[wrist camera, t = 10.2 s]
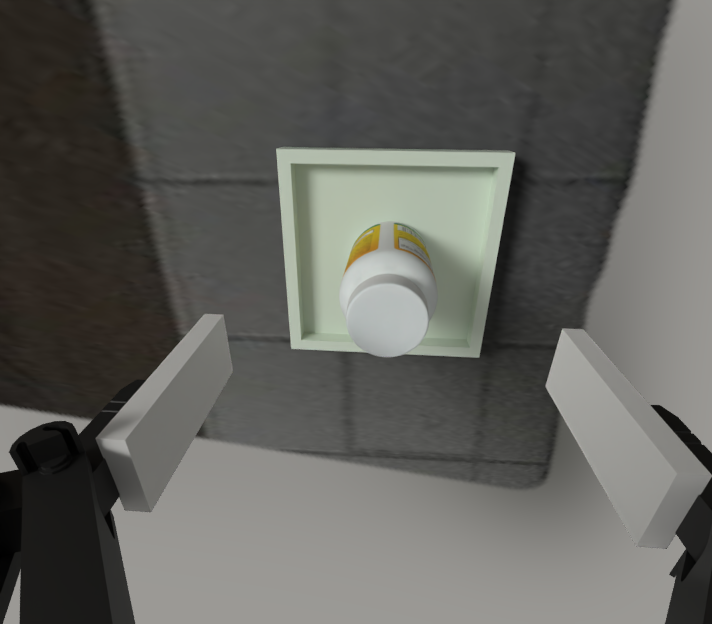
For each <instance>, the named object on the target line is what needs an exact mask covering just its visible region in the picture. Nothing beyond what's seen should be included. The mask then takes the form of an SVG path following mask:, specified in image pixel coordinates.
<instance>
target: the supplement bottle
mask: <svg viewBox="0 0 712 624" xmlns="http://www.w3.org/2000/svg"><path fill="white" fill-rule="evenodd" d="M437 300H438V289H437V284H436V279H435V276H434V272H433V268H432V265H431V261H430V257H429V253H428V250H427V247H426V244H425V242H424V240H423V239H422V237H421V236H420V235H419V234H418V233H417V232H416V231H415V230H414V229H413V228H411V227H410V226H408V225H406V224H403V223H400V222H393V221H386V222H380V223H377V224H374V225H372V226H370V227H369V228H367V229H366V230H365V231H363V232H362V233H361V234H360V235H359V237H358V238H357V239H356V241H355V243H354V244H353V247H352V249H351V252H350V256H349V259H348V262H347V266H346V268H345V272H344V275H343V278H342V281H341V285H340V290H339V301H340V306H341V310H342V312H343V315H344V317H345V318H346V326H347V330H348V333H349V335H350V337H351V338H352V340H353V341H354V342H355V344H356V345H357V346H358V347H360V348H361V349H362V350H364V351H366V352H367V353H370V354H372V355H375V356H380V357H396V356H400V355H403V354H406V353H408V352H410V351H411V350H413V349H414V348H416V347H417V346H418V345H419V344H420V343H421V341H422V340H423V339H424V337H425V335H426V333H427V330H428V326H429V321H430V320H431V318H432V316H433V314H434V312H435V309H436V306H437Z"/></svg>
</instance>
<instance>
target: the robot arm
mask: <svg viewBox="0 0 712 624" xmlns="http://www.w3.org/2000/svg"><path fill="white" fill-rule="evenodd" d="M232 372H233V368H232V362H231V357H230V351H229V345H228V339H227V333H226V327H225V321H224V315H217V314H204V315H203V316H202V318H201V319H200V320H199V321H198V322H197V323H196V324H195V326H194V327H193V328H192V329H191V330H190V331H189V332H188V334H187V335H186V336H185V337H184V338H183V339H182V340H181V342H180V343H179V344H178V345H177V346H176V347H175V348H174V349H173V351H172V352H171V353H170V354H169V355H168V356H167V357H166V359H165V360H164V361H163V362H162V363H161V364H160V365H159V367H158V368H157V369H156V370H155V371H154V372H153V373H152V375H151V376H150V377H149V378H148V379H147V380H135V381H134V382H132V383H131V384H129V385H128V386H126V387H124V388H123V389H121V390H120V391H119V392H118V394H117V395H116V396H115V397H114V398H113V399H112V400H111V403H108V404H107V405H106V406H105V407H104V408H103V410H102V412H100V413H99V414H98V415H97V416H96V417H95V418H94V419H93V420H92V421H91V422H90V424H89V425H88V426H87V427H86V428H85V429H84V430H83V431H82V432H81V433H80V434H79V435H78V434H77V432H76V429H75V427H74V426H73V424H72V423H69V422H66V421H54V422H51V423H46V424H42V425H40V426H38V427H36V428H33V429H31V430H29V431H28V432H26V433H25V434H23V435H22V436H20V437H19V438H18V439H17V440H16V441H15V442H14V444H13V445H12V447H11V449H10V451H9V453H10V455H11V457H12V458H13V460H14V462H15V464H16V465H17V467H18V469H19V470H14V471H8V472H3V473H0V624H3V621H4V618H5V615H6V612H7V609H8V606H9V603H10V600H11V596H12V594H13V591H14V587H15V584H16V581H17V578H18V575H19V572H20V569H21V586H20V589H21V590H20V624H135V620H134V615H133V610H132V606H131V601H130V596H129V591H128V586H127V581H126V577H125V571H124V567H123V561H122V556H121V551H120V546H119V542H118V536H117V531H116V526H115V521H114V517H113V514H112V512H111V508H112V506H113V505H114V503H115V502H116V500H117V499H118V497H120V500H121V502H122V505H123V507H124V510H129V511H141V512H151V511H152V510H153V508H154V506H155V504H156V503H157V501H158V499H159V498H160V496H161V494H162V492H163V491H164V489H165V487H166V485H167V484H168V482H169V480H170V479H171V477H172V475H173V473H174V472H175V470H176V468H177V467H178V465H179V463H180V462H181V460H182V458H183V456H184V455H185V453H186V451H187V449H188V448H189V446H190V444H191V442H192V441H193V439H194V437H195V436H196V434H197V432H198V431H199V429H200V427H201V425H202V424H203V422H204V420H205V419H206V417H207V415H208V413H209V412H210V410H211V408H212V406H213V405H214V403H215V401H216V400H217V398H218V396H219V394H220V393H221V391H222V389H223V388H224V386H225V384H226V382H227V381H228V379H229V377H230V375H231V374H232ZM545 387H546V388H547V390H548V392H549V394H550V396H551V397H552V399H553V401H554V403H555V404H556V406H557V408H558V410H559V411H560V413H561V415H562V417H563V418H564V420H565V422H566V424H567V425H568V427H569V429H570V431H571V432H572V434H573V436H574V438H575V439H576V441H577V443H578V445H579V447H580V448H581V450H582V452H583V454H584V455H585V457H586V459H587V461H588V462H589V464H590V466H591V468H592V470H593V471H594V473H595V475H596V477H597V478H598V480H599V482H600V484H601V485H602V487H603V489H604V491H605V492H606V494H607V496H608V498H609V499H610V501H611V503H612V505H613V506H614V508H615V510H616V512H617V514H618V515H619V517H620V519H621V521H622V522H623V524H624V526H625V528H626V529H627V531H628V533H629V535H630V536H631V538H632V540H633V542H634V544H635V545H636V547H648V548H662V549H667V548H668V546H669V545H670V543H671V541H672V540H673V538H674V537H675V535H676V534H677V536H678V537H679V539H680V540H681V542H682V543H683V545H684V546H685V547H686V550H685V551H684V553H683V555H682V556H681V557H680V559H679V560H678V562H677V563H676V565H675V566H674V568H673V569H672V571H671V572H670V575H671V576H673V577H675V576H676V579H675V584H674V588H673V592H672V596H671V601H670V605H669V609H668V614H667V618H666V622H665V624H712V453H711V452H710V451H709V450H708V449H707V448H706V447H705V446H704V445H702V444H701V441H700V440H699V439H698V438H697V437H696V436H695V435H694V434H691V431H690V430H689V429H688V427H687V426H686V425H684V423H683V422H682V421H681V420H680V419H679V418H678V417H677V416H675V415H674V414H672V413H671V412H669V411H667V410H666V409H665V408H663V407H662V406H660V405H650V404H649V403H648V402H647V401H646V400H645V399H644V398H643V397H642V396H641V394H640V393H639V392H638V391H637V390H636V389H635V387H633V385H632V384H631V383H630V382H629V381H628V380H627V378H626V377H625V376H624V375H623V374H622V373H621V372H620V371H619V369H618V368H617V367H616V366H615V365H614V364H613V363H612V362H611V360H610V359H609V358H608V357H607V356H606V355H605V353H604V352H603V351H602V350H601V349H600V348H599V347H598V346H597V345H596V343H595V342H594V341H593V340H592V339H591V338H590V336H589V335H588V334H587V333H586V332H585V331H584V330H583V329H562V332H561V335H560V338H559V342H558V345H557V349H556V352H555V355H554V359H553V362H552V366H551V369H550V373H549V376H548V379H547V383H546V386H545Z"/></svg>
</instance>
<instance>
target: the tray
mask: <svg viewBox="0 0 712 624" xmlns="http://www.w3.org/2000/svg"><path fill="white" fill-rule="evenodd" d="M276 151H277V164H278V178H279V191H280V204H281V218H282V231H283V245H284V258H285V271H286V285H287V298H288V312H289V325H290V338H291V349H307V350H328V351H349V352H366V351H364V350H362V349H361V348H360V347H358V346H357V345H356V344H355V342H354V341H353V340H352V338H351V337H350V335H349V333H348V330H347V326H346V318H345V317H344V315H343V312H342V310H341V306H340V301H339V290H340V285H341V281H342V278H343V275H344V272H345V268H346V266H347V262H348V259H349V256H350V252H351V249H352V247H353V244H354V243H355V241H356V239H357V238H358V237H359V235H360V234H361V233H362V232H363V231H365V230H366V229H367V228H369V227H370V226H372V225H374V224H377V223H380V222H386V221H393V222H400V223H403V224H406V225H408V226H410V227H411V228H413V229H414V230H415V231H416V232H417V233H418V234H419V235H420V236H421V237H422V239H423V240H424V242H425V244H426V247H427V250H428V253H429V257H430V261H431V265H432V268H433V272H434V276H435V279H436V284H437V289H438V300H437V306H436V309H435V312H434V314H433V316H432V318H431V320H430V321H429V326H428V330H427V333H426V335H425V337H424V339H423V340H422V341H421V343H420V344H419V345H418V346H417V347H416V348H414V349H413V350H411V351H410V352H408V353H406V354H412V355H434V356H455V357H476V358H479V356H480V350H481V345H482V339H483V333H484V328H485V322H486V316H487V311H488V305H489V299H490V294H491V288H492V283H493V277H494V271H495V266H496V260H497V254H498V249H499V243H500V237H501V232H502V226H503V221H504V215H505V209H506V204H507V198H508V192H509V187H510V181H511V175H512V170H513V164H514V159H515V152H511V151H507V150H446V149H382V148H319V147H282V148H278V149H276Z"/></svg>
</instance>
